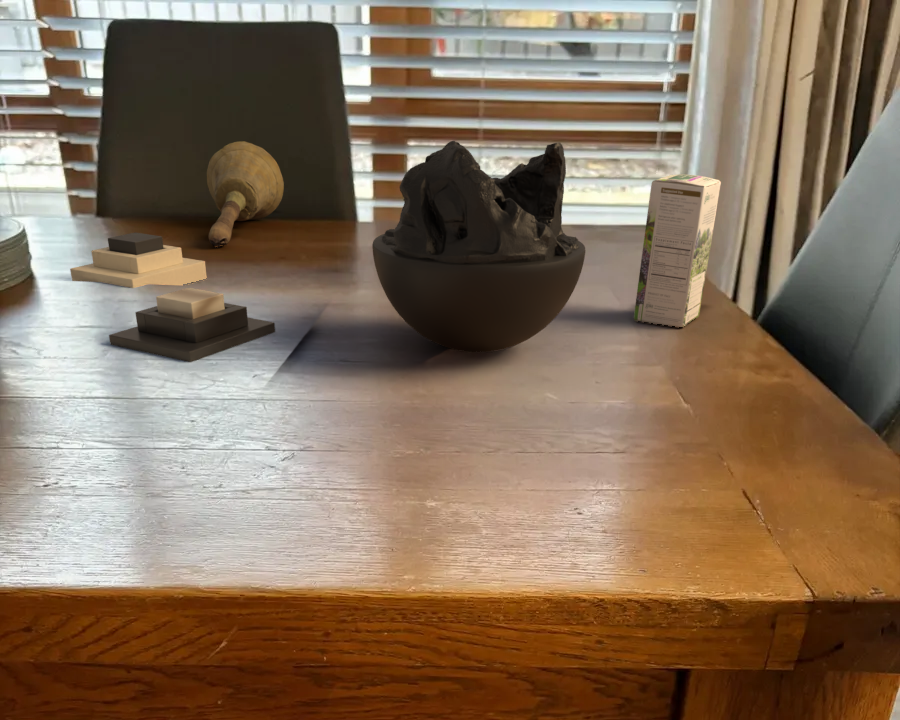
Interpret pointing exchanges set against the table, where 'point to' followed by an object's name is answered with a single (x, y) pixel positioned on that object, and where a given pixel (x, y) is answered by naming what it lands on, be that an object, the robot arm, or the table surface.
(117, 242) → the key far
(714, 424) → the table surface
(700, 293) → the syrup box
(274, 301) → the table surface
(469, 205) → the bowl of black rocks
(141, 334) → the tiered square pedestal
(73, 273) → the stepped ziggurat stack
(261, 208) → the handbell
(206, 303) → the key near
